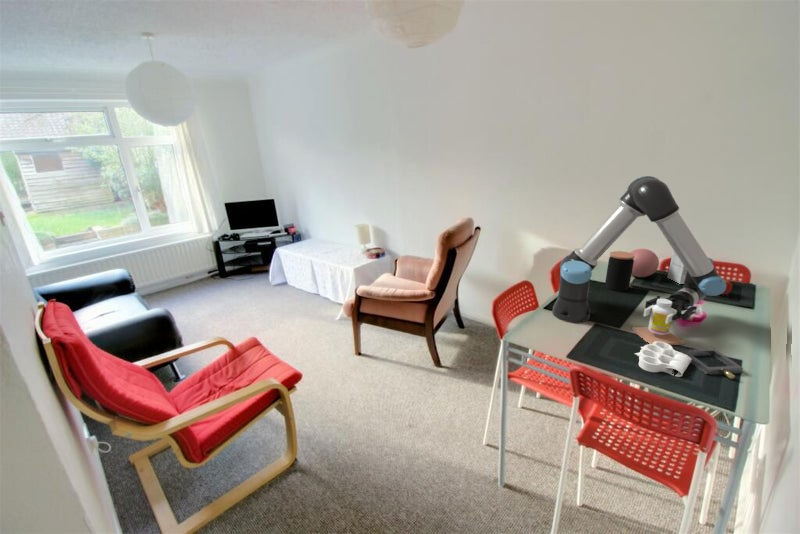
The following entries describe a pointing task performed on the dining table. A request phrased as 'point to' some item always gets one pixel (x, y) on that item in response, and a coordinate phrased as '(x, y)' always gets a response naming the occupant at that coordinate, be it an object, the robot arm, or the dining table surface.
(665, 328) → the supplement bottle
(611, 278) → the coffee jar
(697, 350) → the dark gray square frame
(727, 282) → the apple
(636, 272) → the balloon
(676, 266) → the supplement box
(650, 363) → the knuckle duster
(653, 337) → the terracotta tile
